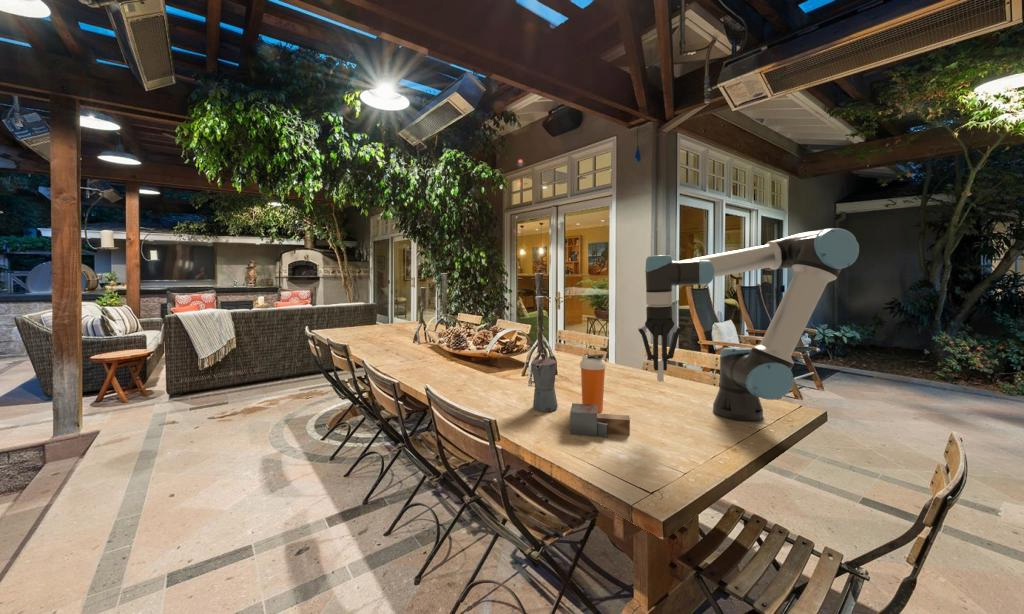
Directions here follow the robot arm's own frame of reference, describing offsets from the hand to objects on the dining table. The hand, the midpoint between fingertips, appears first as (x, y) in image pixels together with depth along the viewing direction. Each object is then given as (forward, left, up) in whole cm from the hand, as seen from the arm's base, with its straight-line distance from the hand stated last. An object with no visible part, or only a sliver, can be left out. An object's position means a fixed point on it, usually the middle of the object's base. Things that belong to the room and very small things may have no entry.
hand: (660, 380), depth 127 cm
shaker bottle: (+21, -13, -15) cm, 29 cm away
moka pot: (+38, -12, -15) cm, 43 cm away
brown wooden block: (+17, +6, -16) cm, 24 cm away
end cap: (+22, +7, -15) cm, 27 cm away
